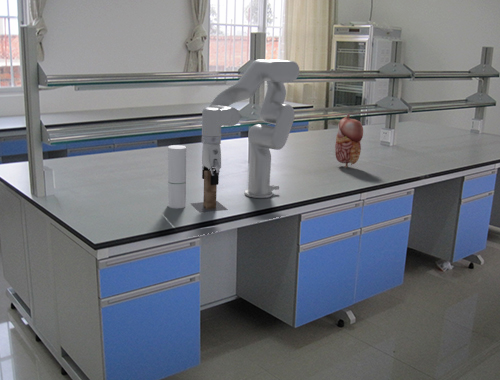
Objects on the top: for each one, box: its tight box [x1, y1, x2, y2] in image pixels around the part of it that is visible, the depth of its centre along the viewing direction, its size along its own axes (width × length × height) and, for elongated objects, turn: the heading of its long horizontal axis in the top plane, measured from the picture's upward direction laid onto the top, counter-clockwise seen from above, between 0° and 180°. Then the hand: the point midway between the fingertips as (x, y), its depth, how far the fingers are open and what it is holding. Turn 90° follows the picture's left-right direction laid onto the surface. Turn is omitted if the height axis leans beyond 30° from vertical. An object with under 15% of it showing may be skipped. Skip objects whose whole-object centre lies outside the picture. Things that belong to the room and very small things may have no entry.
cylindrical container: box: [167, 144, 187, 209], centre depth 210 cm, size 7×7×25 cm
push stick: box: [202, 170, 218, 209], centre depth 211 cm, size 4×4×15 cm
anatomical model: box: [334, 113, 364, 168], centre depth 288 cm, size 12×16×30 cm
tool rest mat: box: [189, 200, 228, 213], centre depth 214 cm, size 12×12×1 cm
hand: (210, 181), depth 210 cm, fingers open, 9 cm apart
